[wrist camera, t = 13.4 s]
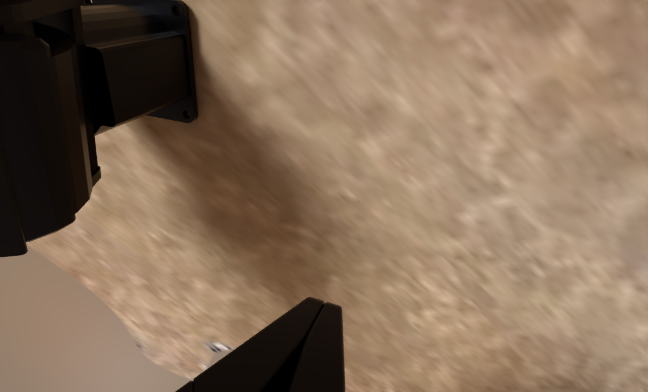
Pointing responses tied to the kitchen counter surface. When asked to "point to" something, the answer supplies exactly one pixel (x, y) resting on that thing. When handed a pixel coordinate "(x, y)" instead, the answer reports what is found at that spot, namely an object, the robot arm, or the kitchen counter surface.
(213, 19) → the kitchen counter surface
